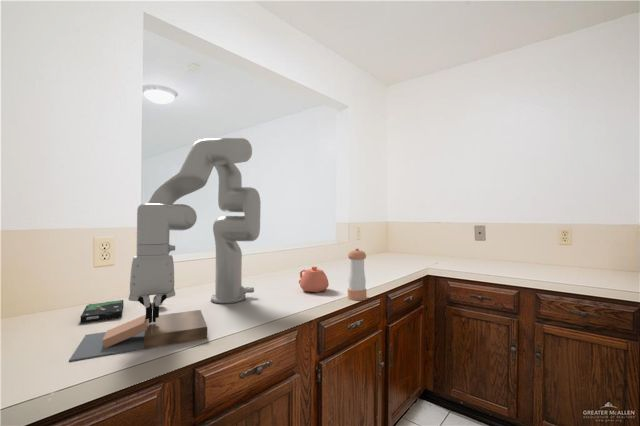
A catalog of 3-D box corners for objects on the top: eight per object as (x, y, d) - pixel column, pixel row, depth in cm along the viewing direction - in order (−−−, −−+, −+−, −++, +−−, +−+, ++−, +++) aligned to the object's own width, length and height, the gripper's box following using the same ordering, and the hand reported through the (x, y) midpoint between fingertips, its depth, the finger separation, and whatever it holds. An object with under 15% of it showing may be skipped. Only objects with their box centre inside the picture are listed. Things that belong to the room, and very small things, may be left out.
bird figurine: (171, 306, 107) (170, 289, 106) (156, 311, 102) (155, 293, 102) (163, 303, 110) (162, 287, 109) (147, 308, 105) (146, 291, 105)
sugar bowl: (318, 295, 122) (318, 270, 122) (290, 291, 129) (290, 267, 129) (333, 289, 132) (333, 266, 132) (307, 285, 140) (307, 263, 140)
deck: (200, 319, 92) (200, 309, 92) (207, 338, 78) (207, 326, 78) (147, 327, 86) (147, 316, 86) (144, 349, 72) (144, 336, 72)
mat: (147, 327, 86) (147, 326, 86) (144, 349, 72) (144, 347, 72) (85, 335, 79) (85, 334, 79) (68, 361, 65) (68, 360, 65)
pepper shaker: (370, 297, 118) (370, 248, 119) (358, 301, 113) (358, 249, 113) (355, 294, 123) (355, 247, 124) (343, 297, 118) (343, 248, 119)
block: (148, 321, 81) (145, 314, 81) (147, 329, 75) (144, 322, 75) (110, 337, 77) (107, 330, 77) (105, 348, 71) (102, 340, 71)
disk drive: (122, 319, 94) (123, 307, 107) (122, 310, 94) (123, 299, 107) (80, 326, 88) (86, 311, 101) (80, 316, 88) (86, 303, 101)
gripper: (183, 248, 86) (182, 313, 86) (121, 250, 80) (119, 321, 79) (185, 250, 80) (184, 321, 79) (117, 253, 73) (116, 330, 73)
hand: (152, 320), depth 79 cm, fingers closed
